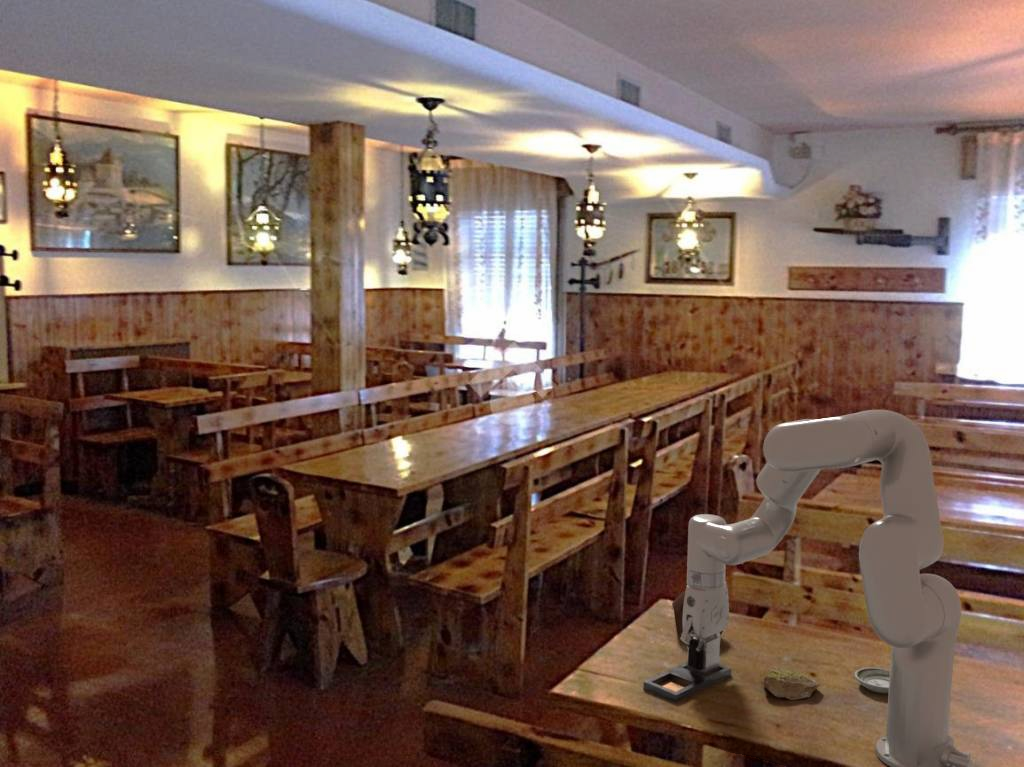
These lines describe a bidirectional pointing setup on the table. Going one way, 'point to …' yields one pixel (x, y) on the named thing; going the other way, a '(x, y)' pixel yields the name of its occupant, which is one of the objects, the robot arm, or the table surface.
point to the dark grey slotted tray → (683, 682)
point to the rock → (789, 684)
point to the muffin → (679, 612)
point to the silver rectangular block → (709, 656)
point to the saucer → (874, 679)
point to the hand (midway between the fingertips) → (703, 663)
